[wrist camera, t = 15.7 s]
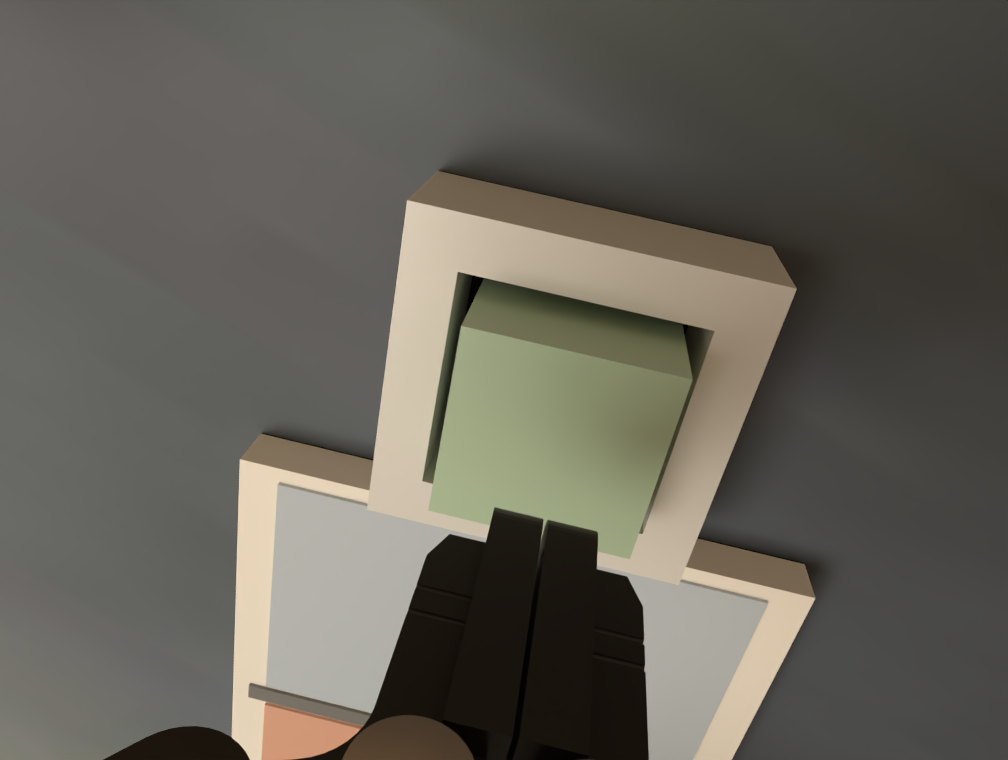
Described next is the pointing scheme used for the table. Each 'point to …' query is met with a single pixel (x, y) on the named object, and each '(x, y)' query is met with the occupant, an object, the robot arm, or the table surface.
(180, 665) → the table surface
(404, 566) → the picture card
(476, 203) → the button frame
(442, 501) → the button
